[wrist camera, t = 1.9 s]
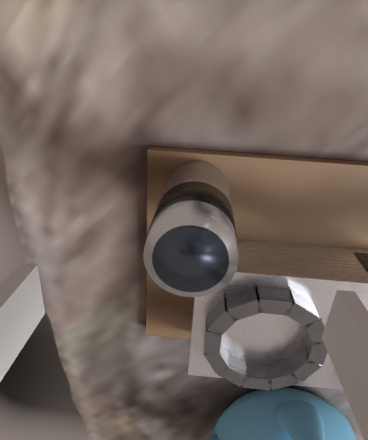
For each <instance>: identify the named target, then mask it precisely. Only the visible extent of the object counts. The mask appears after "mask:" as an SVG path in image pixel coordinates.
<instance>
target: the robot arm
mask: <svg viewBox="0 0 368 440" xmlns="http://www.w3.org/2000/svg"><path fill="white" fill-rule="evenodd" d="M44 314H45V310H44V304H43V298H42V292H41V285H40V279H39V273H38V267H37V265H34V264H19V265H18V266H17V267H16V268H15V269H14V271H13V272H12V273H11V274H10V275H9V276H8V277H7V278H6V279H5V280H4V281H3V282H2V283H1V285H0V382H1V380H2V379H3V377H4V375H5V374H6V372H7V371H8V369H9V368H10V366H11V365H12V363H13V362H14V360H15V359H16V357H17V356H18V354H19V352H20V351H21V349H22V348H23V346H24V345H25V343H26V342H27V340H28V339H29V337H30V335H31V334H32V332H33V331H34V329H35V328H36V326H37V325H38V323H39V322H40V320H41V318H42V317H43V316H44ZM322 340H323V342H324V345H325V347H326V349H327V352H328V354H329V356H330V359H331V361H332V364H333V366H334V368H335V371H336V373H337V376H338V378H339V380H340V383H341V385H342V387H343V390H344V392H345V395H346V397H347V399H348V402H349V404H350V406H351V409H352V411H353V414H354V416H355V418H356V421H357V423H358V426H359V428H360V430H361V433H362V435H363V437H364V440H368V311H367V309H366V308H365V306H364V305H363V303H362V302H361V300H360V299H359V297H358V295H357V294H356V292H355V291H344V290H337V291H336V294H335V297H334V300H333V303H332V307H331V310H330V313H329V316H328V319H327V322H326V326H325V329H324V332H323V335H322Z"/></svg>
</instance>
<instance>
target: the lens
mask: <svg viewBox="0 0 368 440" xmlns="http://www.w3.org/2000/svg"><path fill="white" fill-rule="evenodd" d="M143 260H144V265H145V268H146V270H147V272H148V274H149V276H150V277H151V278H152V280H153V281H154V282H155V283H156V284H157V285H159V286H160V287H161V288H163V289H164V290H166V291H168V292H170V293H173V294H175V295H179V296H184V297H201V296H206V295H210V294H212V293H215V292H217V291H219V290H220V289H222V288H223V287H224V286H226V285H227V284H228V283H229V282H230V280H231V279H232V278H233V276H234V274H235V272H236V270H237V267H238V260H239V256H238V248H237V236H236V229H235V222H234V216H233V210H232V206H231V201H230V194H229V187H228V182H227V179H226V177H225V175H224V174H223V172H222V171H221V170H220V169H219V168H218V167H216V166H215V165H213V164H212V163H209V162H207V161H202V160H191V161H187V162H184V163H182V164H180V165H179V166H177V167H176V168H175V169H174V170H173V171H172V172H171V174H170V175H169V177H168V179H167V182H166V185H165V188H164V191H163V194H162V197H161V199H160V201H159V203H158V206H157V209H156V211H155V214H154V217H153V220H152V223H151V226H150V229H149V234H148V237H147V240H146V243H145V246H144V250H143Z"/></svg>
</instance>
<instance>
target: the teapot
mask: <svg viewBox="0 0 368 440" xmlns="http://www.w3.org/2000/svg"><path fill="white" fill-rule="evenodd" d="M207 440H356V438H355V436H354V433H353V430H352V427H351V425H350V423H349V422H348V420H347V419H346V418H345V417H344V415H343V414H342V413H341V412H340V411H339V410H338V409H336V408H335V407H334V406H332V405H331V404H329V403H328V402H326V401H324V400H323V399H321V398H319V397H317V396H316V395H314V394H311V393H309V392H306V391H303V390H299V389H295V388H287V387H283V388H279V389H275V390H272V388H270V390H261V389H260V390H256V391H253V392H250V393H247V394H245V395H243V396H242V397H240V398H238V399H237V400H236V401H234V402H233V403H232V404H231V405H230V406H229V407H228V408H227V409H226V410H225V411H224V413H223V414H222V415H221V417H220V418H219V419H218V421H217V423H216V426H215V428H214V432H213V435H212V436H211V437H210V438H209V439H207Z"/></svg>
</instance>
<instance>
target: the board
mask: <svg viewBox="0 0 368 440" xmlns="http://www.w3.org/2000/svg"><path fill="white" fill-rule="evenodd" d="M191 160H202V161H207V162H209V163H212V164H213V165H215V166H216V167H218V168H219V169H220V170H221V171H222V172H223V174H224V175H225V177H226V179H227V182H228V187H229V194H230V201H231V206H232V210H233V216H234V222H235V229H236V236H237V238H240V239H252V240H264V241H276V242H288V243H300V244H312V245H325V246H337V247H349V248H361V249H368V162H363V161H349V160H335V159H321V158H308V157H294V156H280V155H266V154H253V153H239V152H225V151H211V150H198V149H184V148H170V147H156V146H150V147H149V148H148V149H147V237H148V234H149V229H150V226H151V223H152V220H153V217H154V214H155V211H156V209H157V206H158V203H159V201H160V199H161V197H162V194H163V191H164V188H165V185H166V182H167V179H168V177H169V175H170V174H171V172H172V171H173V170H174V169H175V168H176V167H177V166H179V165H180V164H182V163H184V162H187V161H191ZM193 302H194V297H184V296H179V295H175V294H173V293H170V292H168V291H166V290H164V289H163V288H161V287H160V286H159V285H157V284H156V283H155V282H154V281H153V280H152V278H151V277H150V276H149V274H148V272H147V277H146V335H154V336H164V337H175V338H185V339H190V338H191V325H192V313H193Z"/></svg>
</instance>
